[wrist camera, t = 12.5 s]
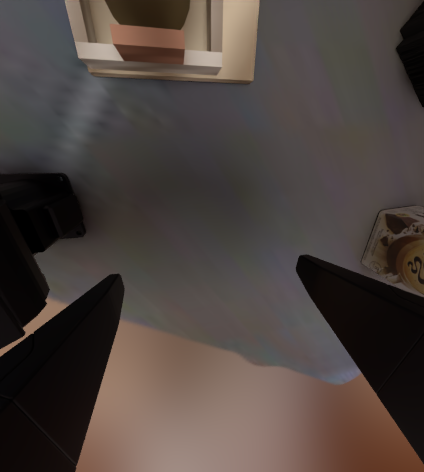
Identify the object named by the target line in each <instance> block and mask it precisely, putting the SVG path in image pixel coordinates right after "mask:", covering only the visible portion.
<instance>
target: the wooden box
mask: <svg viewBox="0 0 424 472" xmlns="http://www.w3.org/2000/svg"><path fill="white" fill-rule="evenodd" d="M65 4H66V8H67V12H68V16H69V20H70V24H71V28H72V33H73V37H74V41H75V45H76V49H77V53H78V57H79V59H80V60H81V61H83V62H84V63H85V64H86V65H87V66H88V70H89V73H91V74H92V75H93V76H99V77H119V78H140V79H160V80H181V81H201V82H221V83H242V84H250V83H251V82H252V81H253V77H254V64H255V51H256V38H257V26H258V13H259V0H190V9H189V12H188V15H187V18H186V21H185V24H184V26H183V27H182V29H181V30H174V29H163V28H152V27H141V26H129V25H120V24H119V23H118V22H117V21H116V20H115V18H114V17H113V15H112V13H111V12H110V10H109V8H108V6H107V4H106V2H105V0H65Z"/></svg>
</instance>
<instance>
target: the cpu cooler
mask: <svg viewBox="0 0 424 472" xmlns="http://www.w3.org/2000/svg"><path fill="white" fill-rule="evenodd" d="M401 32H402V35H403V37H404V40H403V41H402V42H401V43H400V45H399V46H398V47H397V48H396V49H397V50H398V51H397V52H398V53H399V54H400V53H401V54H400V55H401V56H400V55H399V56H400V57H401V58H400V59H401V60H402V61H403V62H404V63H403V62H402V63H403V64H404V66H405V65H406V66H405V67H406V68H405V69H406V70H407V71H408V72H407V74H409V76H410V77H409V78H410V79H411V81H412V82H413V83H412V82H411V83H412V84H414V85H413V87H414V86H415V87H414V88H415V89H416V91H415V92H416V94H417V95H418V97H419V98H420V100H421V101H420V100H419V101H420V102H422V103H423V104H422V107H424V2H423V3H422V5H421V6H420V7H419V8H418V10H416V11H415V13H414V14H413V15H412V17H411V18H410V19H409V21H408V22H406V24H405V25H404V26H403V27H402V29H401ZM415 89H414V90H415Z"/></svg>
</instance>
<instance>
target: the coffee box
mask: <svg viewBox="0 0 424 472" xmlns="http://www.w3.org/2000/svg"><path fill="white" fill-rule="evenodd" d="M361 263H362V264H364V265H365V266H367V267H368V268H370V269H371V270H373V271H375V272H376V273H378V274H379V275H381V276H382V277H384V278H385V279H387V280H388V281H390V282H391V283H393V284H394V285H396V286H397V287H399V288H400V289H402V290H405V291H407V292H410V293H413V294H416V295H419V296H422V297H424V207H421V206H410V207H402V208H395V209H388V210H382V211H380V212H379V215H378V218H377V221H376V223H375V226H374V229H373V232H372V234H371V237H370V240H369V242H368V245H367V248H366V251H365V253H364V256H363V259H362V261H361Z"/></svg>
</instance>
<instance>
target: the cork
mask: <svg viewBox="0 0 424 472" xmlns="http://www.w3.org/2000/svg"><path fill="white" fill-rule="evenodd" d="M105 2H106V4H107V6H108V8H109V10H110V12H111V13H112V15H113V17H114V18H115V20H116V21H117V22H118V23H119V24H120V25H129V26H141V27H152V28H163V29H174V30H181V29H182V27H183V26H184V24H185V21H186V18H187V15H188V12H189V9H190V0H105Z"/></svg>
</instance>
